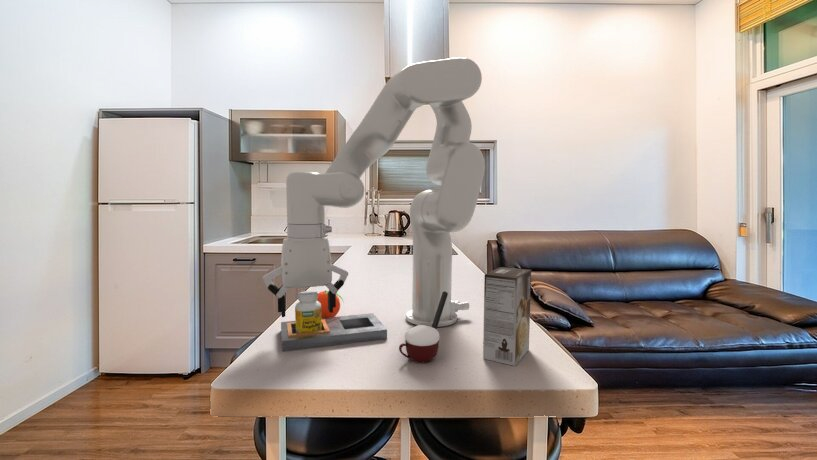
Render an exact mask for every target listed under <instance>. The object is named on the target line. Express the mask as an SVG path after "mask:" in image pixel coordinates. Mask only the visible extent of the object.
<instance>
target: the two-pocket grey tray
mask: <svg viewBox="0 0 817 460" xmlns="http://www.w3.org/2000/svg"><path fill="white" fill-rule="evenodd" d="M321 319H322V331H314V332H304V333H296V320H289V321H281V322H280V335H281V350H282V352H288V351H289V352H290V351H296V350H297V351H298V350H304V349H314V348H320V347H323V348H324V347H328V346H329V347H330V346H337V345H347V344H354V343H356V344H357V343H362V342H363V343H364V342H369V341H370V342H371V341H379V340H386V339H388V329H387V327H385V325H384V324H383V323H382V322H381V321H380V319H379V318H378V317H377V316H376V314H374V312H373V313H372V312H371V313H362V314H352V315H341V316H335V317H328V318H321Z"/></svg>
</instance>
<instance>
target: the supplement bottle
mask: <svg viewBox="0 0 817 460" xmlns="http://www.w3.org/2000/svg"><path fill="white" fill-rule="evenodd" d="M318 293H319V292H317V291H314V290H306V291H301V292H299V293H298V295H297V300H298V302H297V303H296V305H295V306H294V315H295V316H294V318H295V320H294V321H296V333H304V332H314V331H322V319H321V304H320V302H318V301H317V299H318Z"/></svg>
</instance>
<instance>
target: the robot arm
mask: <svg viewBox="0 0 817 460" xmlns="http://www.w3.org/2000/svg"><path fill="white" fill-rule="evenodd" d="M482 77H483V76H482V72H481V68H480V67H479V66H478V64H477V63H476V62H475V61H474V60H473V59H470V58H468V57H451V58H445V59H437V60H428V61H421V62H416V63H411V64H408V65H406V66H404V68H402V69H401V70H399V71H398V72H397V73H395V74H394V75H393V76H391V77H390V78H389V79H388V81H387V82H386V83H385V85H384V86H383V88H382V89H381V91H380V92H379V93H378V95H377V96H376V99H375V100H374V101H373V104H372V105H371V106H370V108H369V110H368V111H367V113H365V115H364V117H363V119H362V120H361V122H360V123H359V125H358V126H357V127H356V129H355V130H354V131H353V133H352V134H351V135H350V136H349V139H348V140H347V141H346V142H345V144H344V145H343V146H342V148H341V149H340V150H339V152H338V153H337V154H336V156H335V157H334V159H333V160H332V162H331V164H330V165H329V167H328V168H327V170H326V171H325V172H324V173H319V172H314V171H293V172H290V173H288V175H287V177H286V180H285V181H286V183H285V184H286V185H285V186H286V188H285V189H286V192H285V193H286V234H287V236H286V237H287V238H283V241H282V246H281V255H280V256H281V258H280V260H281V261H280V266H279V267H277V268H275V269H274V270H272V271H270V272H267V273H266V274H264V275H262V281H263V283H264V285H265V286H266V287H267V289H268V291H269V292H270V293H272V294H273V295H275V297H276V299H277V312H278V313H281V318H285V317H286V296H285V294H286V292H287V291H288V290H289V289H301V288H313V287H315V288H317V287H326V288H327V289H328V290H327V291H328V310H329V312H330V313H333V307H336V293H337V294H338V292H339V290H340V289H341V288H342V287H343V286H344V284H345V282H346V280H347V279H348V278H347V277H348V276H349V271H347V270H345V269H343V268H342V267H338V266H336V265H335V264H333V263H332V255H331V248H330V244H329V239H328V237H326V235H327V234H329V233H332V232H333V231H332V229H333V228H332V226H329V225H326V221H325V219H326V217H325V207H334V208H341V209H349V208H353V207H354V206H356V205H358V204H359V203H360V202H361V201H362V199H363V198H364V195H365V186H364V183H363V181H362V179H361V178H362V176H363V175H364V173H365V172H366V171H367V169H368V168H370V167H371V166H372V165H373V164H374V163H375V162H377V160H379V159H380V158H382V157H383V156H384V155H385V154H386V153H388V152H389V150H391V148H392V147H393V146H394V144H395V143H396V141H397V140H398V138H399V136H400V134H401V133H402V132H403V130H404V128H405V127H406V125H407V123H408V122H409V121H410V119H411V117H412V116H413V114H414V113H415V111H416V110H417V109H418V108H421V107H422V106H424V105H429V106H430V108H431V109H432V111H433V113H434V115H435V119H436V126H435V127H436V128H435V132H434V136H433V141H432V143H431V147H430V152H429V154H428V158H427V162H426V167H425V173H426V177H427V179H428V180H429V181H430V182H431V183H432V184H434V185H436V186H440V188H438V189H426V190H424V191H421V192H419V193H418V194H416V195H415V197H414V198H413V199H412V201H411V203H410V207H409V220H410V225H411V226H410V227H411V234H412V292H411V293H412V299H411V300H412V302H411V303H412V304H411V305H412V306H411V307H412V309H411V310H408V311H407V312H406V313H405V320H406V321H407V322H408V323H410V324H413V325H415V326H418V325H425V326H430V327H432V324H433V321H434V318H435V315H436V311H437V308H438V305H439V302H440V299H441V296H442V293H443V292H444V291H445V292H447V293H448V296H447V299H446V302H445V305H444V308H443V311H442V314H441V317H440V321H439V324H438V327H437V328H441V327H447V326H451V325H453V324H455V323H457V321H458V314H457V312H459V311H468V310H470V303H469V302H468V301H464V302H460V301H459V300H455V301H454V300H453V299H452V281H453V279H452V278H453V276H452V274H453V273H452V269H453V243H452V236H451V233H457V232H460V231H462V230H464V229H465V228H466V227H467V226H468V225H469V224H470V222H471V221H472V218H473V216H474V212H475V209H476V205H477V203H478V199H479V195H480V191H481V188H482V184H483V179H484V175H485V170H486V164H485V162H486V161H485V158H484V155H483V152H482V150H481V149H480V148H479V147H478V146H477V145H476V144H474V143H473V142H470V139H471V135H472V120H471V116H470V114H469V112H468V109H467V108H466V106H465V104H464V102H463V101H465V100H467V99H469V98H471V97H473V96H474V95H475V94H476V93H477V92H478V91H479V90H480V88H481V85H482ZM333 273H336V274H338V275H339V278H338V280H336V281H335V283H332V280H333ZM278 276H280V279H281V282H282V283H281V285H279V287H278V286H276V285H275V284H274V282H273V281H272V280H273V279H274V278H276V277H278Z"/></svg>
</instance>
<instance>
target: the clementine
mask: <svg viewBox="0 0 817 460" xmlns="http://www.w3.org/2000/svg"><path fill="white" fill-rule="evenodd" d="M328 291H329V290H324V291H320V292H317V293H318V299H317V301H318V302H320V304H321V318H328V317H337V315H338V313H339V312H340V309H341V300H342V302H343V303H344V300H343V297H341V295H340V294H338V292H337V293H336V307H333V313H330V312H329V310H328ZM340 299H341V300H340Z"/></svg>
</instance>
